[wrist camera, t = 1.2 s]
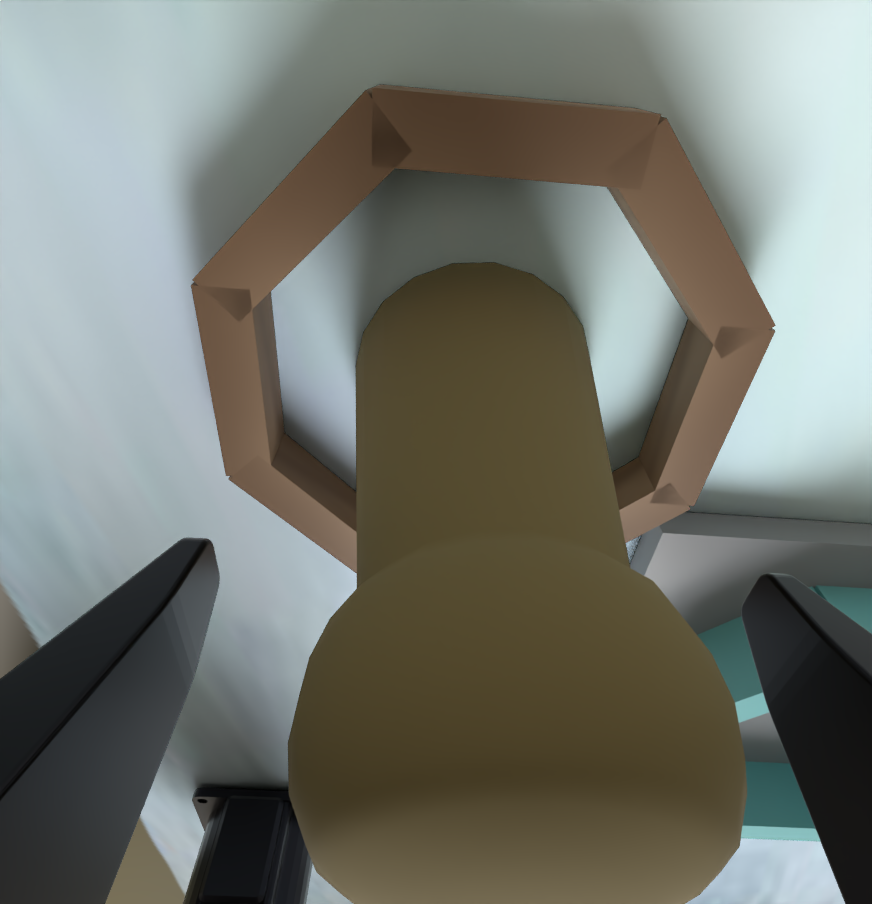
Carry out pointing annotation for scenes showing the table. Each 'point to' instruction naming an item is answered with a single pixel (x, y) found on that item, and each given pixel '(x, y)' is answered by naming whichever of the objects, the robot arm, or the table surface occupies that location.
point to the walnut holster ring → (496, 155)
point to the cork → (503, 636)
